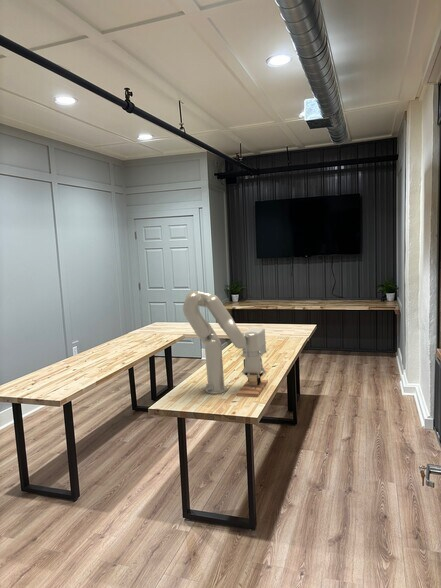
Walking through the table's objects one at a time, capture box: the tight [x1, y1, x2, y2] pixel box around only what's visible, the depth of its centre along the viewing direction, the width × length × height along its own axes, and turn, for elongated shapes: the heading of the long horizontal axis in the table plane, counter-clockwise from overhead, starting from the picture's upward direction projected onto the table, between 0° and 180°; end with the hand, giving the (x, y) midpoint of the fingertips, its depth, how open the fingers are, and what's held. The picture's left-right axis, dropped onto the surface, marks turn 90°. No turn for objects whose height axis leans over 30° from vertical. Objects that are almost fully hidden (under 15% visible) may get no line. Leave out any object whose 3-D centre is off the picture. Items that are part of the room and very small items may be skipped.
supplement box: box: [241, 328, 267, 358], centre depth 318 cm, size 17×13×18 cm
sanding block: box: [249, 373, 258, 386], centre depth 247 cm, size 7×4×6 cm, turn 160°
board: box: [236, 379, 269, 398], centre depth 244 cm, size 24×12×2 cm, turn 161°
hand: (254, 383), depth 248 cm, fingers closed on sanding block, 4 cm apart
